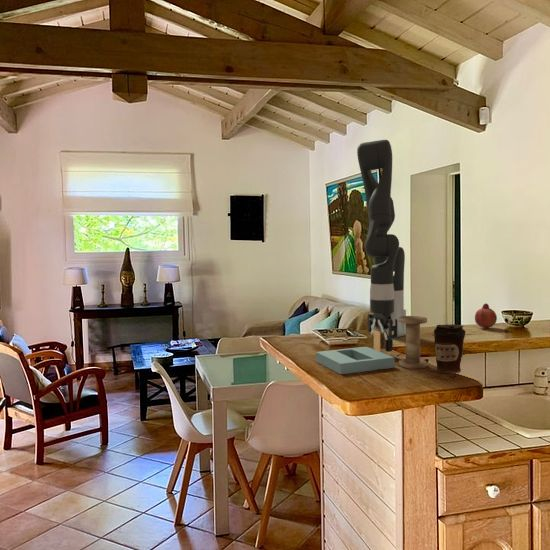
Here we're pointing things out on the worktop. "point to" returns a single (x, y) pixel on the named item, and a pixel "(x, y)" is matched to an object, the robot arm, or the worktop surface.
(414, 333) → the bobbin
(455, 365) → the coffee cup
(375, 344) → the orange rectangular block
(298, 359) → the worktop surface
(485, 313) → the fruit
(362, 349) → the board
